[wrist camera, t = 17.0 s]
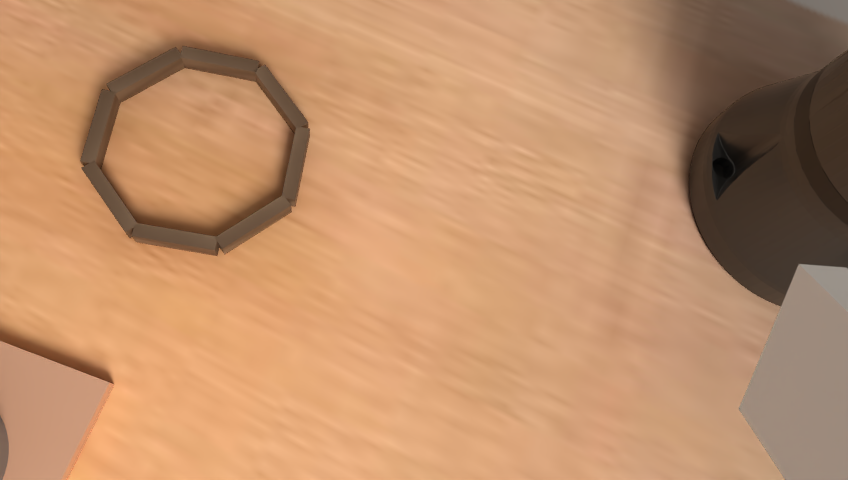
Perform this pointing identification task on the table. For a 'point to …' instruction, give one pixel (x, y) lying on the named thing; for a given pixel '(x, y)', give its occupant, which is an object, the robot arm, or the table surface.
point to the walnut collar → (152, 75)
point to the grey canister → (3, 449)
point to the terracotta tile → (46, 413)
